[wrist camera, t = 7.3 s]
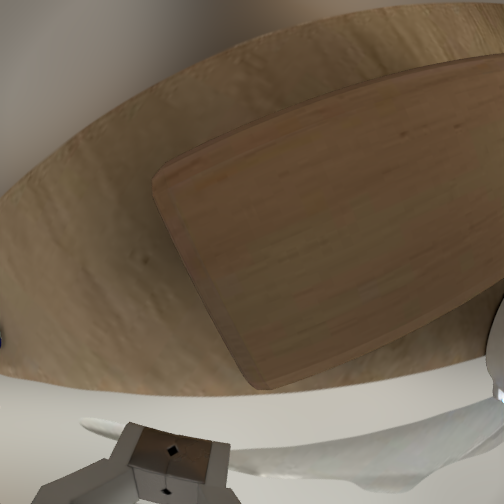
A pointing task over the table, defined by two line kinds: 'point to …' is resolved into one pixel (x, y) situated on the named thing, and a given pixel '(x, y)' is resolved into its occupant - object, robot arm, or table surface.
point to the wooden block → (344, 217)
